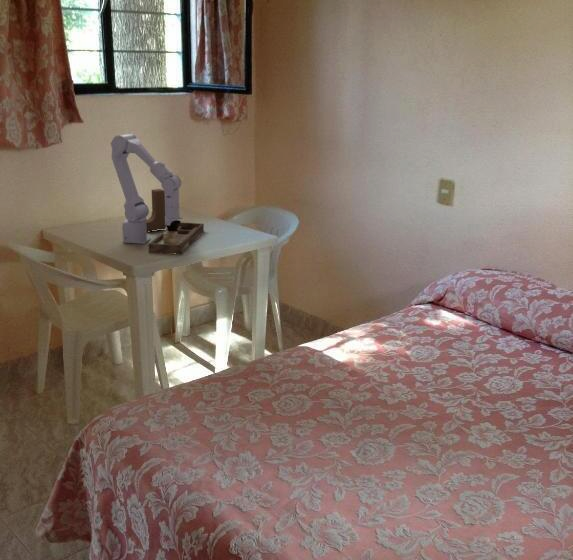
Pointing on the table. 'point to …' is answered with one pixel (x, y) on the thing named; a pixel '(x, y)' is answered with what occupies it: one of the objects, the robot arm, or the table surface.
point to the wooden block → (157, 211)
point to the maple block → (170, 237)
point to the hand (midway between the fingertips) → (173, 238)
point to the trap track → (185, 239)
